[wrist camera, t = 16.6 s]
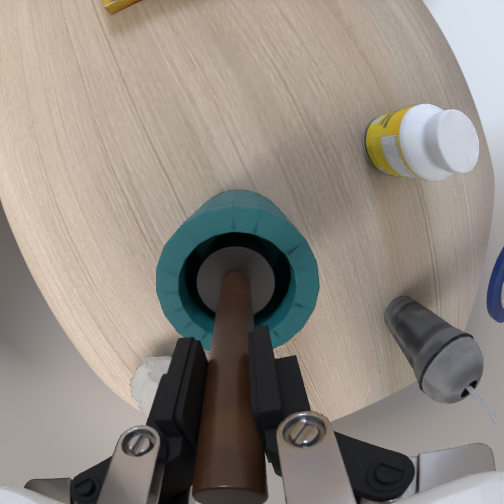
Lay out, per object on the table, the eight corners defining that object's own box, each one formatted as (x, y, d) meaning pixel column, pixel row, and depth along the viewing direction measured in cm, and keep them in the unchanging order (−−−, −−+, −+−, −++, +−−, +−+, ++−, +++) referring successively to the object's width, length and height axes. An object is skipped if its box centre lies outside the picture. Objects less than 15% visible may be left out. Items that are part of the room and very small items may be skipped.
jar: (278, 181, 26) (307, 191, 14) (294, 274, 29) (324, 340, 17) (180, 201, 26) (136, 227, 15) (203, 291, 29) (183, 364, 17)
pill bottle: (409, 119, 24) (482, 107, 13) (412, 177, 26) (487, 188, 15) (358, 113, 24) (423, 88, 13) (361, 175, 26) (430, 183, 15)
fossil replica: (151, 403, 34) (217, 398, 35) (144, 448, 27) (220, 446, 27) (120, 341, 30) (198, 334, 31) (102, 391, 22) (196, 388, 23)
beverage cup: (400, 275, 29) (517, 377, 10) (430, 301, 31) (528, 392, 12) (363, 323, 31) (447, 451, 12) (397, 343, 32) (473, 451, 13)
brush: (263, 225, 20) (336, 437, 4) (274, 285, 21) (330, 509, 5) (197, 238, 20) (88, 448, 4) (213, 297, 21) (175, 520, 5)
